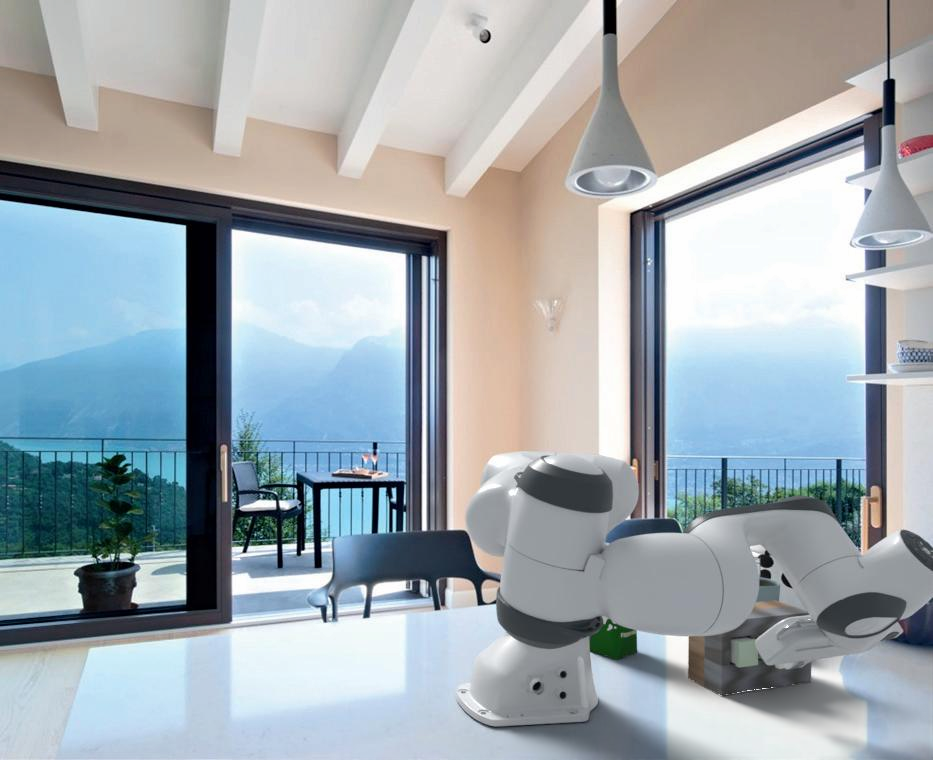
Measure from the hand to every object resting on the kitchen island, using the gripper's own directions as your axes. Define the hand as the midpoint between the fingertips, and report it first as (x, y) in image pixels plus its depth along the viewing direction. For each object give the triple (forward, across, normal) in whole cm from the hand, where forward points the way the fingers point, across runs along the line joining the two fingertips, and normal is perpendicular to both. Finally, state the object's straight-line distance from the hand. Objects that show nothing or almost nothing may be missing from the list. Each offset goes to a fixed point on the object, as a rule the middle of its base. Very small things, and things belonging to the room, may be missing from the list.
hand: (790, 663), depth 103 cm
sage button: (+10, 0, +5) cm, 11 cm away
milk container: (+38, +47, +27) cm, 66 cm away
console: (+16, +6, +4) cm, 17 cm away
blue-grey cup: (+28, +25, +17) cm, 42 cm away
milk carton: (+30, -9, +18) cm, 36 cm away
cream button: (+8, +6, +4) cm, 11 cm away
